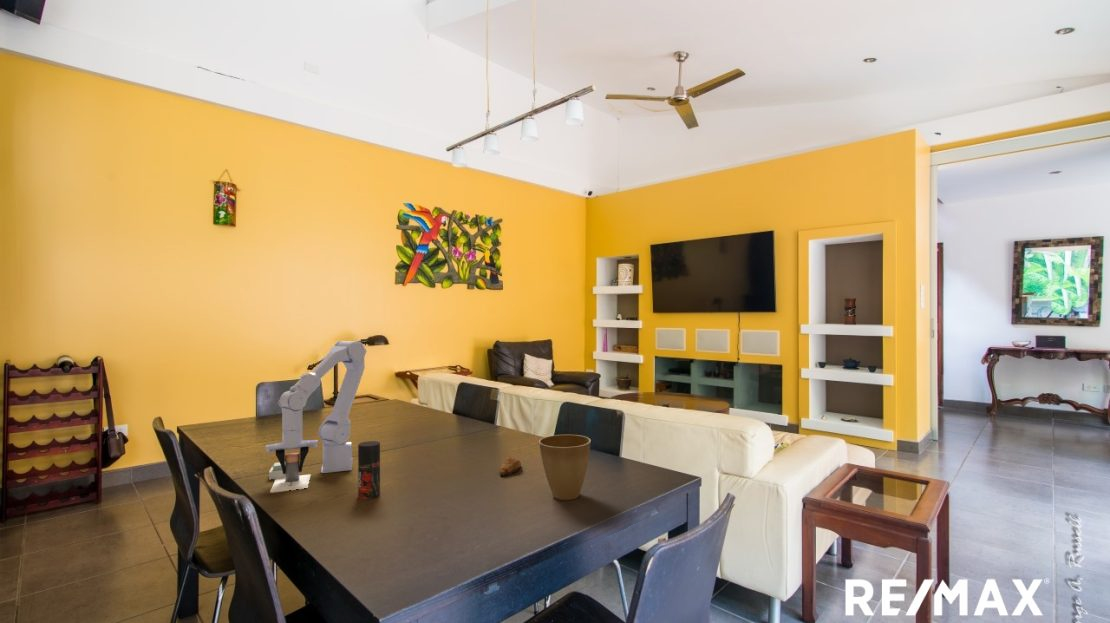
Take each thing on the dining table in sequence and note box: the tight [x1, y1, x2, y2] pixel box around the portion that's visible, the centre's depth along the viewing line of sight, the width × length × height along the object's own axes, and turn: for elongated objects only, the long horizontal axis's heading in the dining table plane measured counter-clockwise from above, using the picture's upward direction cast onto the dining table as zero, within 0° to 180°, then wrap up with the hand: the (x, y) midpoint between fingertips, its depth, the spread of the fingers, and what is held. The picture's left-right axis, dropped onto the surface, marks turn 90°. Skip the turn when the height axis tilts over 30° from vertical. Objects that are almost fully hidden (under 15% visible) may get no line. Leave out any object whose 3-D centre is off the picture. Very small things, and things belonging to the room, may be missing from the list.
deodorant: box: [357, 440, 381, 500], centre depth 146 cm, size 6×6×15 cm
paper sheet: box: [269, 473, 312, 494], centre depth 157 cm, size 10×14×1 cm
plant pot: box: [538, 434, 592, 501], centre depth 144 cm, size 15×15×16 cm
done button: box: [272, 461, 282, 471], centre depth 164 cm, size 4×4×2 cm
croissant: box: [499, 456, 522, 477], centre depth 168 cm, size 14×7×5 cm, turn 160°
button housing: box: [268, 466, 285, 481], centre depth 164 cm, size 6×6×2 cm
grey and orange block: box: [285, 452, 300, 482], centre depth 159 cm, size 4×4×8 cm
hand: (292, 472), depth 159 cm, fingers closed on grey and orange block, 4 cm apart
